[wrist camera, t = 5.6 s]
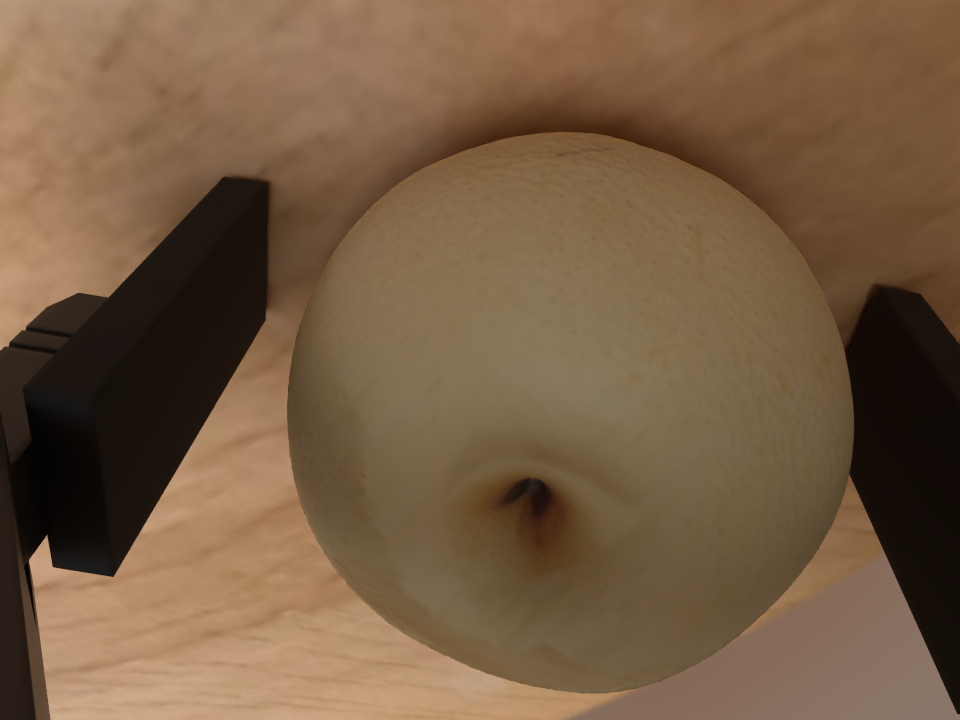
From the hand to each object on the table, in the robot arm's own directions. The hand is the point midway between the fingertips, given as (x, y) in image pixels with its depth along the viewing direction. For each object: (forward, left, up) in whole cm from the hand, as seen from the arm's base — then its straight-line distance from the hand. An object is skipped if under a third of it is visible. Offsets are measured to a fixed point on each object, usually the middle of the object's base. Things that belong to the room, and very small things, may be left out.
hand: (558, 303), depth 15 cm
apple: (0, 0, 0) cm, 0 cm away
